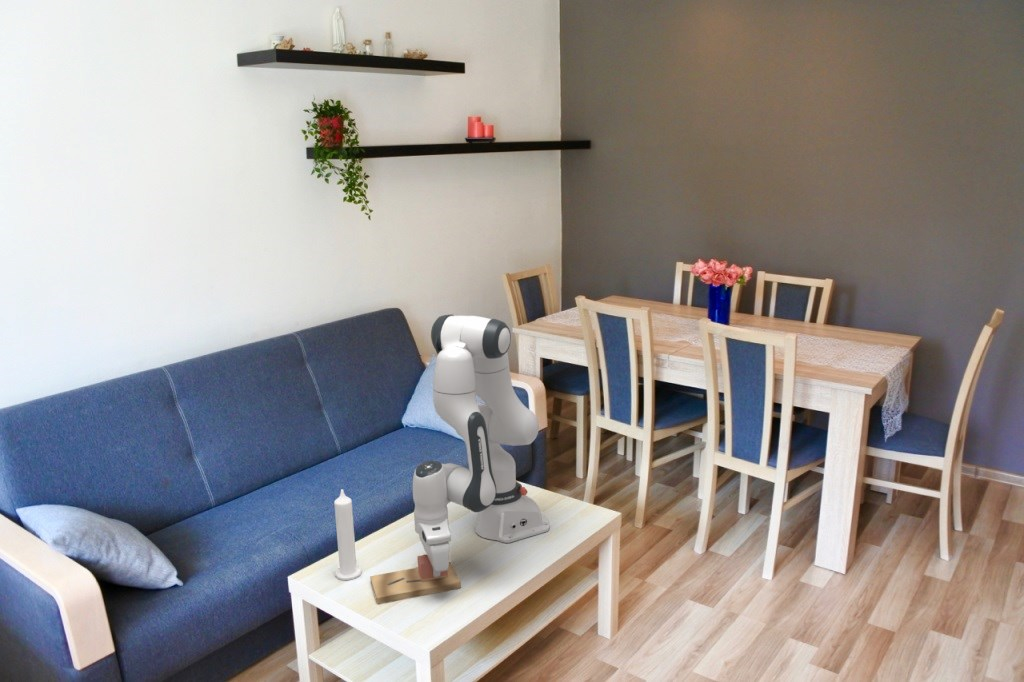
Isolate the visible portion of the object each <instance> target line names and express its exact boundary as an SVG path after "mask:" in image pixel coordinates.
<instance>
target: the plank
mask: <svg viewBox="0 0 1024 682" xmlns="http://www.w3.org/2000/svg"><path fill="white" fill-rule="evenodd" d="M447 571H448V577H444V578H438V579H433V580H427V581H421V578H420V576H419V573H418V567H413V568H408V569H403V570H398V571H397V570H396V571H391V572H385V573H381V574H374V575H371V576H369V577H370V578H369V579H370V584H371V587H372V591H373V594H374V597H375V601H376V603H377V605H380V604H381V605H382V604H386V603H392V602H396V601H401V600H407V599H411V598H417V597H421V596H426V595H432V594H437V593H441V592H442V593H443V592H448V591H453V590H457V589H461V588H462V584H461V583H462V582H461V580H460V578H459V576H458V574H457V572H456V569H455V568H454V566H453V564H452V562H451V561H449V567H448V570H447Z"/></svg>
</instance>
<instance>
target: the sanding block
mask: <svg viewBox="0 0 1024 682" xmlns="http://www.w3.org/2000/svg"><path fill="white" fill-rule="evenodd" d="M417 568H418V573H419V576H420V578H421V581H427V580H433V579H438V578H444V577H448V571H447V570H446V571H442V572H440V576H438V577H434V576H433V571H432V569H433V567H432V565H431V563H430V561H429V558H428V556H427V554H423V555H417Z"/></svg>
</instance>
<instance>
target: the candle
mask: <svg viewBox="0 0 1024 682" xmlns="http://www.w3.org/2000/svg"><path fill="white" fill-rule="evenodd" d="M333 504H334V515H335V525H336V526H335V527H336V539H337V551H338V562H339V563H338V564H339V567H338V568H337V569H336V570H335V572H334V574H335V577H336V579H338V580H341V581H350V580H351V581H352V580H355V579H357V578H359V577H360V576H361V575H362V573H363V571H362V567H360V566H359V565H357V555H356V553H357V552H356V540H355V528H354V516H353V515H354V514H353V501H352V498H350V497H349V496H346V494H345V491H344V489H343V488H342V489H340V494H339V496H338V497H337V498H336V499H334V502H333Z"/></svg>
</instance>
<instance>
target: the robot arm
mask: <svg viewBox="0 0 1024 682" xmlns="http://www.w3.org/2000/svg"><path fill="white" fill-rule="evenodd" d="M430 330H431V331H430V338H431V339H430V340H431V343H432V346H433V348H434V349H435V351H436V354H437V356H436V359H435V360H436V361H435V365H434V372H433V385H432V386H433V388H432V392H433V393H432V399H433V400H432V401H433V407H434V409H435V410H434V411H435V412H436V414H437V415H438V417H439V418H440V419H441V420H442V421H443V422H445V423H446V424H447V425H449V426H450V427H451V428H452V429H454V430H455V433H456V434H457V435H458V436H459V437H460V438H462V439H463V441H464V443H465V447H466V454H467V461H468V462H467V463H468V468H467V467H465V466H462V465H459V464H455V463H451V462H444V463H441V461H438V460H428V461H424V462H421V463H420V464H418V465H417V466H416V468H415V469H414V473H413V476H412V499H413V503H414V510H413V520H414V531H415V532H416V534H418V538H419V541H420V542H421V545H422V547H423V549H424V551H425V553H426V554H425V555H427V556H428V558H429V561H430V563H431V565H432V567H433V569H432V571H433V576H434V577H438V576H440V572H442V571H446V570H448V567H449V562H450V543H449V542H451V541H452V535H451V531H450V522H449V510H448V504H449V503H453V504H456V505H459V506H462V507H464V508H466V509H467V510H469V511H471V512H474V513H477V518H476V522H475V526H474V532H475V533H476V534H477V535H478V536H479V537H480V538H481V537H482V538H483V539H486V540H487V539H488V540H492V541H498V542H501V543H503V544H504V543H505V544H509V543H514V542H516V541H520V540H522V539H526V538H529V537H532V536H536V535H540V534H543V533H546V532H548V531H550V521H549V520H548V518H547V517H546V516H545V514H544V513H542V511H541V509H540V508H541V507H540V505H538V503H537V502H536V501H535V500H534V499H532V498H531V497H529V496H528V495H527V494H528V489H526V487H524V486H523V485H522V484H521V483H520V482H518V481H517V480H516V477H517V476H516V474H517V472H516V471H517V469H516V461H515V459H514V457H513V456H512V455H511V454H510V453H509V452H508V451H506V450H505V449H504V448H503V447H502V446H501V445H506V446H513V447H514V446H527V445H531V444H532V443H533V442H534V441H535V439H536V438H537V436H538V435H539V430H540V429H539V428H540V423H539V420H538V417H537V416H536V414H535V413H534V412H533V411H532V410H530V409H529V408H528V407H527V406H526V405H524V403H523V402H522V401H521V400H520V398H519V397H518V395H517V394H516V392H515V389H514V386H513V382H512V376H511V370H510V361H509V354H508V351H509V349H510V346H511V339H512V335H511V330H510V328H509V326H508V325H507V323H506V322H504V321H502V320H499V319H497V318H489V317H488V318H487V317H484V316H479V315H478V316H477V315H454V314H445V315H440V316H438V317H437V318H436V319H435V321H434V323H433V325H432V327H431V329H430ZM477 397H478V399H479V400H481V401H483V402H484V403H481V402H478V401H477Z"/></svg>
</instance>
